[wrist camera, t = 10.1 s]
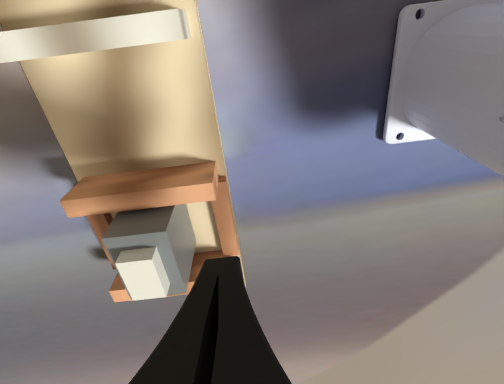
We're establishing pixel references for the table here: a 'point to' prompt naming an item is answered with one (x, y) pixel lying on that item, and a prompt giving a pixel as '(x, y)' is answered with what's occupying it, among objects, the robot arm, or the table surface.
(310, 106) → the table surface
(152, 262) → the plug
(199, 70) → the wooden board with blocks
